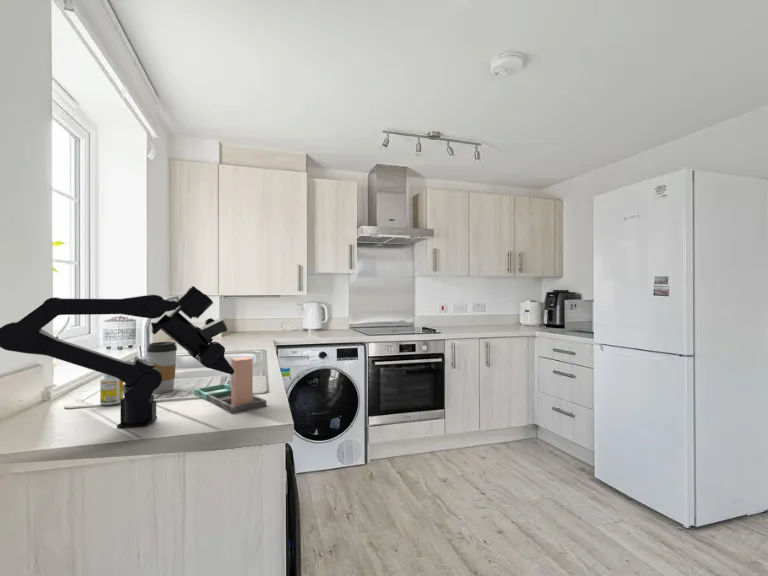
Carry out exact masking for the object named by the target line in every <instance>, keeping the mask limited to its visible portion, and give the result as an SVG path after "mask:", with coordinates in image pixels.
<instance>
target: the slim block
mask: <svg viewBox="0 0 768 576" xmlns="http://www.w3.org/2000/svg"><path fill="white" fill-rule="evenodd" d="M230 359H231V362H230V365H231V367H232V368H233V370H234V371H235V372H234V373H233V374H232V375H231V374H230V377H231V379H230V386H231V404H230V405H232V406H238V405H243V404H247V403H252V402H253V395H254V394H253V391H254V390H253V388H254V387H253V384H254V383H253V381H254V380H253V379H254V377H253V375H254V374H253V367H254V366H253V365H254V364H253V358H251V357H249V356H242V357H241V356H240V357H232V358H230Z"/></svg>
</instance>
